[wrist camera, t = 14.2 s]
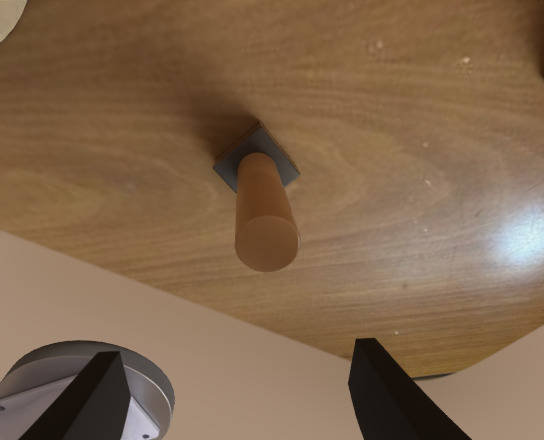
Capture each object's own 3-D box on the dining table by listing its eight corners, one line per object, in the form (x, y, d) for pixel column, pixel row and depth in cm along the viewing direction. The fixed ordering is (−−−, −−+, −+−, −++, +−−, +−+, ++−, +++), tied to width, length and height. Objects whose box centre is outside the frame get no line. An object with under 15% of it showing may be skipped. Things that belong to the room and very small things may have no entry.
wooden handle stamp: (252, 201, 19) (261, 304, 11) (214, 159, 18) (191, 241, 10) (296, 166, 18) (340, 249, 10) (259, 120, 17) (276, 173, 9)
